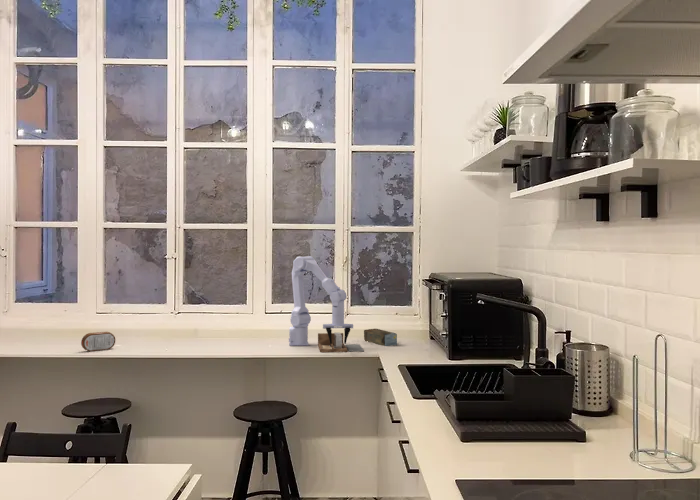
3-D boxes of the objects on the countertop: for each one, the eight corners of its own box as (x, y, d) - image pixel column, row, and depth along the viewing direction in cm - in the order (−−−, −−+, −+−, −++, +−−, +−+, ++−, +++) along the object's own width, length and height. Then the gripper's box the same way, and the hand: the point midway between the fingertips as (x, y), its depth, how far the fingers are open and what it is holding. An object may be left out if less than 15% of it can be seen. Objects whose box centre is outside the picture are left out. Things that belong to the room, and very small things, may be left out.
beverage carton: (384, 346, 294) (384, 333, 294) (363, 341, 310) (363, 328, 310) (397, 345, 298) (397, 332, 298) (375, 340, 314) (375, 327, 314)
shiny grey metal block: (336, 350, 280) (336, 335, 280) (334, 346, 291) (334, 332, 291) (341, 350, 281) (342, 335, 281) (339, 346, 292) (339, 332, 292)
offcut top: (323, 351, 279) (323, 349, 279) (321, 346, 292) (321, 345, 292) (331, 351, 279) (331, 349, 279) (329, 346, 292) (329, 345, 292)
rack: (320, 352, 276) (320, 339, 275) (317, 345, 295) (317, 333, 295) (347, 351, 277) (347, 339, 277) (343, 345, 296) (343, 333, 296)
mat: (349, 351, 278) (349, 350, 278) (345, 345, 295) (345, 344, 295) (363, 351, 278) (363, 350, 278) (359, 345, 296) (359, 344, 296)
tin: (113, 348, 284) (113, 330, 284) (116, 349, 282) (116, 331, 282) (80, 351, 274) (80, 333, 274) (83, 352, 272) (83, 334, 272)
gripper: (323, 316, 281) (323, 345, 281) (354, 316, 283) (353, 344, 283) (322, 314, 288) (322, 342, 288) (352, 314, 290) (352, 342, 290)
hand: (337, 343), depth 286 cm, fingers open, 6 cm apart
